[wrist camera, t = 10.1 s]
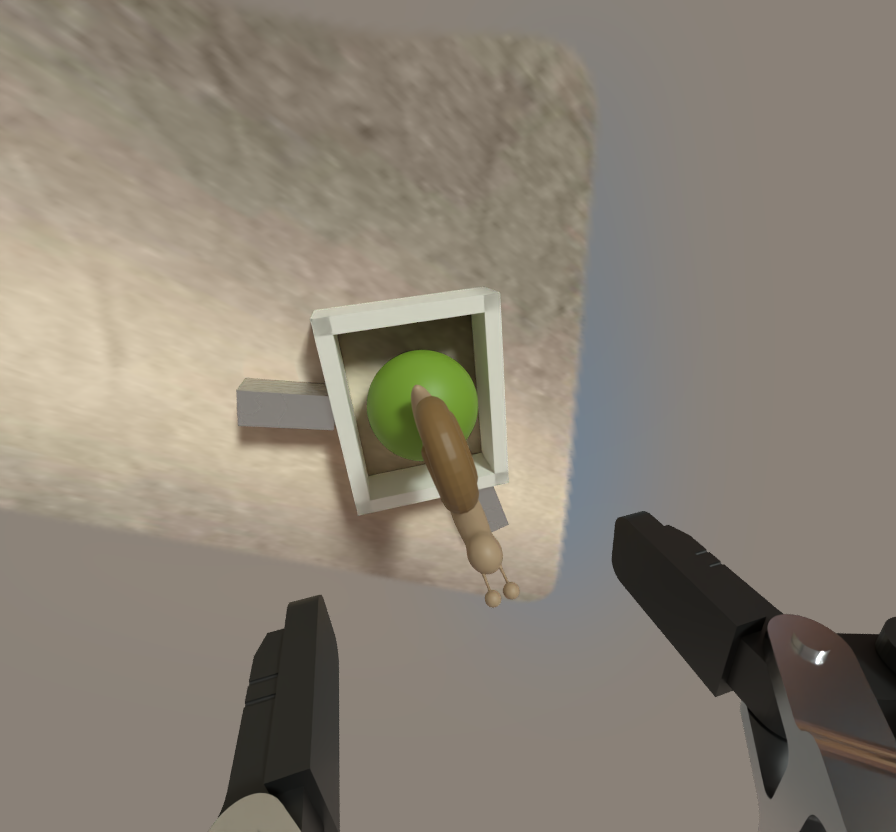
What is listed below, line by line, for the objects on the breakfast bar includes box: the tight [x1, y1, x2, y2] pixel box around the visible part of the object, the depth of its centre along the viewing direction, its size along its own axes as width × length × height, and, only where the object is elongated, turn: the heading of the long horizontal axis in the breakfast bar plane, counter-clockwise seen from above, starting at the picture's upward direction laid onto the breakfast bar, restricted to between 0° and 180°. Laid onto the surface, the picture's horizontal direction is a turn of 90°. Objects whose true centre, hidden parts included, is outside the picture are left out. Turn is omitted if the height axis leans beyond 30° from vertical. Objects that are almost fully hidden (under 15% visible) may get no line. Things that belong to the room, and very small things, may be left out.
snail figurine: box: [367, 350, 520, 608], centre depth 17 cm, size 5×6×12 cm
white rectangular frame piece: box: [236, 287, 509, 532], centre depth 22 cm, size 13×15×2 cm
